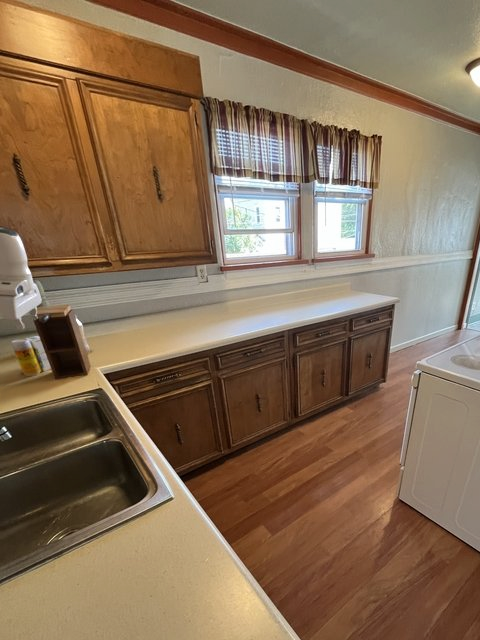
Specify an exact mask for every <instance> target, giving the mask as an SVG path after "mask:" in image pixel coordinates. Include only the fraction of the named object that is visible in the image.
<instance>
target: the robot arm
mask: <svg viewBox="0 0 480 640" xmlns="http://www.w3.org/2000/svg"><path fill="white" fill-rule="evenodd" d="M28 261H29V260H28V255H27V251H26V248H25V246H24V243H23V240H22V238H21V237H20V235H19V233H18V232H17V231H16V230H14V229H12V228H9V227H7V226H3V225H0V316H1V317H2V318H3V319H4V320H6V321H7V320H8V321H12V323H14V324H15V326H16V329H17V330H19V331H24V330H25V329H26V324H25V322H23V321H22V317H23V316H25V315H26V314H28V313H29V315H28V317H29V320H30V321H33V320H36V319H38V318H37V306H38V305H39V304H41V302H42V299H41V296H40V292H39V290H38V287H37V285H36V284H35V283H34V282H33V279H34V278H33V275H32V272H31V270H30V268H29V265H28Z"/></svg>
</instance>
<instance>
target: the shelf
mask: <svg viewBox="0 0 480 640" xmlns="http://www.w3.org/2000/svg"><path fill="white" fill-rule="evenodd" d="M71 309H72V306H71V304H64V305H63V304H62V305H61V304H59V305H50V306H46V307H39V308H37V318H40V322H42V323H45V322H46V321H47V320H48V319H49V318H50V317H61V316H66V315H67V313H68V312H69V311H70V310H71Z"/></svg>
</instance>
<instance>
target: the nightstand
mask: <svg viewBox="0 0 480 640" xmlns="http://www.w3.org/2000/svg"><path fill="white" fill-rule="evenodd" d="M75 314H76V313H75V311H74V309H73V308H71V310H70V311H69V312H68V313H67V315H66V316H61V317H50V318H49V319H48V320H47V321H46V322H45V323H42V322H40V318H38V319H36V320H32V321H33V323H34V326H35V329H36V331H37V334H38V336H39V337H40V340H41V343H42V345H43V348H44V351H45V353H46V356H47V359H48V361H49V364H50V367H51V369H50V370H51V372H52V375H53V378H54V380H62V379H68V378H69V377H70V378H75V377H76V376H77V377H83V376H89V373H90V369H91V367H92V366H91V361H90V359H89V356H88V354H87V352H86V349H85V346H84V343H83V340H82V336H81V333H80V330H79V327H78V324H77V320H78V319H77V320H76V317H75ZM70 378H69V379H70Z"/></svg>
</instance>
